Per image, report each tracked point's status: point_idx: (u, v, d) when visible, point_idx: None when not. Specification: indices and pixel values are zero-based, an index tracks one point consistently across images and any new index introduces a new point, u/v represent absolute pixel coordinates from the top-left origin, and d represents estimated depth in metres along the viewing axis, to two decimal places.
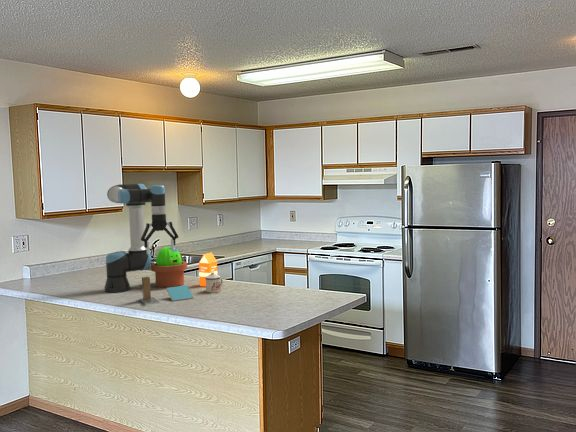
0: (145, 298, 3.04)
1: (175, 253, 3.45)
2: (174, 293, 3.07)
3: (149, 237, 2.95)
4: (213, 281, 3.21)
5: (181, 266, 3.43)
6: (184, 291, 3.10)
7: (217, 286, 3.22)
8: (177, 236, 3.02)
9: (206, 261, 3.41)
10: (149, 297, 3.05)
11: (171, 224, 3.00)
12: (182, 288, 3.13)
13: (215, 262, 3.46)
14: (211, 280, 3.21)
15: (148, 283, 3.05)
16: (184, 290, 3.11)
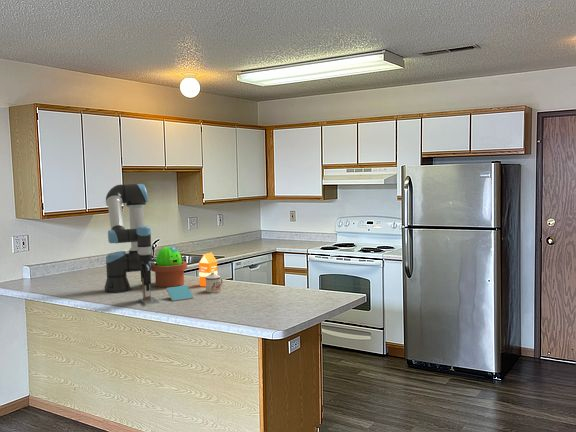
0: (145, 298, 3.04)
1: (175, 253, 3.45)
2: (174, 293, 3.07)
3: None
4: (213, 281, 3.21)
5: (181, 266, 3.43)
6: (184, 291, 3.10)
7: (217, 286, 3.22)
8: (146, 283, 3.01)
9: (206, 261, 3.41)
10: (149, 297, 3.05)
11: (146, 269, 2.99)
12: (182, 288, 3.13)
13: (215, 262, 3.46)
14: (211, 280, 3.21)
15: None
16: (184, 290, 3.11)
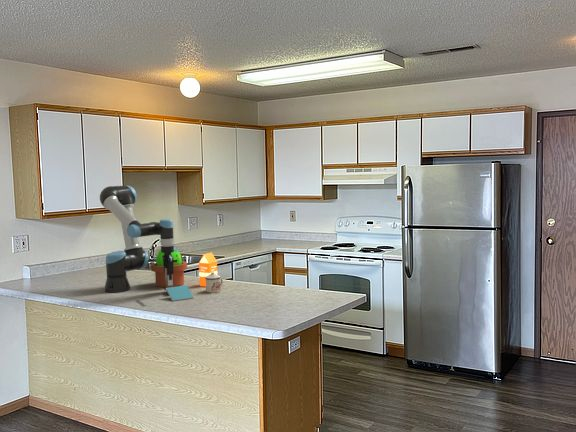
0: (168, 287, 3.23)
1: (175, 253, 3.45)
2: (174, 293, 3.07)
3: None
4: (213, 281, 3.21)
5: (181, 266, 3.43)
6: (184, 291, 3.10)
7: (217, 286, 3.22)
8: (169, 272, 3.20)
9: (206, 261, 3.41)
10: (172, 286, 3.24)
11: (169, 260, 3.19)
12: (182, 288, 3.13)
13: (215, 262, 3.46)
14: (211, 280, 3.21)
15: None
16: (184, 290, 3.11)
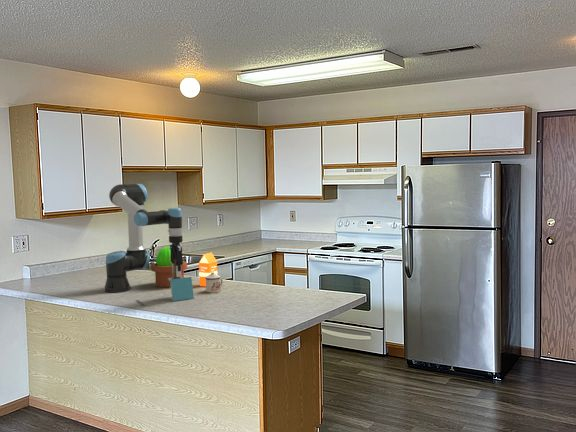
0: None
1: None
2: (176, 289, 3.03)
3: (172, 258, 3.13)
4: (213, 281, 3.21)
5: (181, 266, 3.43)
6: (187, 287, 3.06)
7: (217, 286, 3.22)
8: (178, 263, 3.05)
9: (206, 261, 3.41)
10: None
11: (177, 250, 3.04)
12: (186, 281, 3.07)
13: (215, 262, 3.46)
14: (211, 280, 3.21)
15: None
16: (187, 285, 3.07)
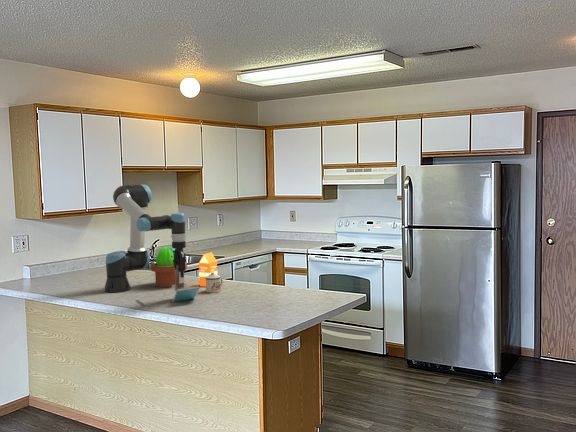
0: (178, 285, 3.07)
1: None
2: (180, 296, 2.98)
3: (175, 264, 3.09)
4: (213, 281, 3.21)
5: None
6: (191, 294, 3.01)
7: (217, 286, 3.22)
8: (180, 269, 3.01)
9: (206, 261, 3.41)
10: (182, 284, 3.08)
11: (180, 256, 3.00)
12: (192, 291, 2.99)
13: (215, 262, 3.46)
14: (211, 280, 3.21)
15: None
16: (192, 293, 3.01)
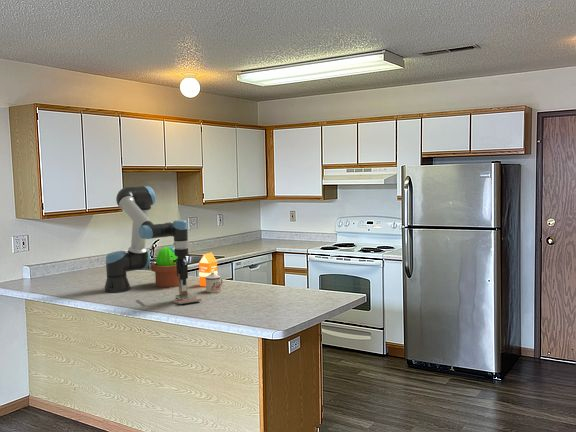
0: (182, 294, 3.02)
1: None
2: None
3: (178, 272, 3.05)
4: (213, 281, 3.21)
5: None
6: None
7: (217, 286, 3.22)
8: (183, 277, 2.99)
9: (206, 261, 3.41)
10: (186, 293, 3.03)
11: (183, 264, 2.97)
12: None
13: (215, 262, 3.46)
14: (211, 280, 3.21)
15: None
16: None
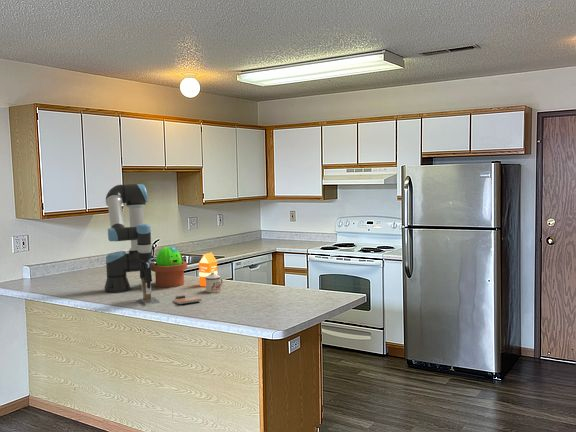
0: (145, 298, 3.04)
1: (175, 253, 3.45)
2: None
3: (141, 275, 3.08)
4: (213, 281, 3.21)
5: (181, 266, 3.43)
6: None
7: (217, 286, 3.22)
8: (147, 280, 2.99)
9: (206, 261, 3.41)
10: (149, 297, 3.05)
11: (146, 266, 2.99)
12: None
13: (215, 262, 3.46)
14: (211, 280, 3.21)
15: None
16: None
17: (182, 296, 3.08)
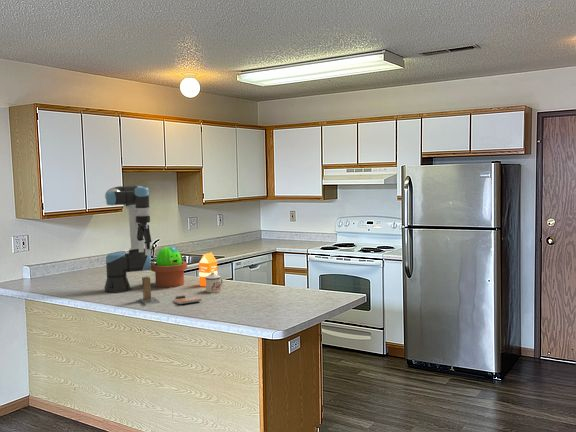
0: (145, 298, 3.04)
1: (175, 253, 3.45)
2: None
3: (138, 236, 3.08)
4: (213, 281, 3.21)
5: (181, 266, 3.43)
6: None
7: (217, 286, 3.22)
8: (146, 240, 2.95)
9: (206, 261, 3.41)
10: (149, 297, 3.05)
11: (144, 227, 2.97)
12: None
13: (215, 262, 3.46)
14: (211, 280, 3.21)
15: (148, 283, 3.05)
16: None
17: (182, 296, 3.08)
